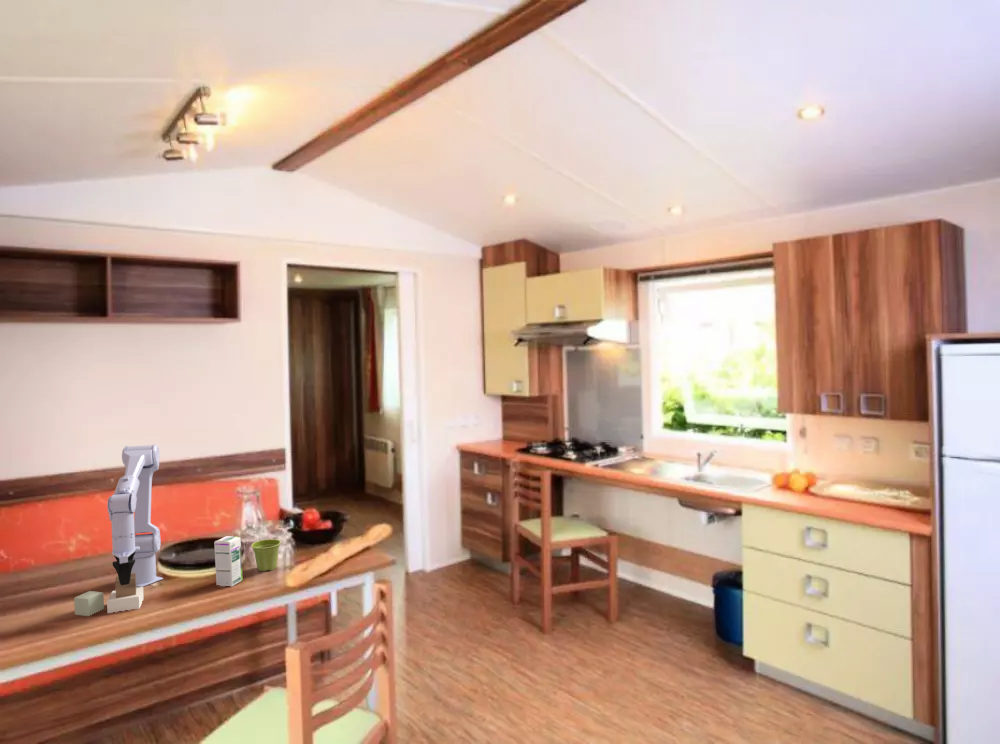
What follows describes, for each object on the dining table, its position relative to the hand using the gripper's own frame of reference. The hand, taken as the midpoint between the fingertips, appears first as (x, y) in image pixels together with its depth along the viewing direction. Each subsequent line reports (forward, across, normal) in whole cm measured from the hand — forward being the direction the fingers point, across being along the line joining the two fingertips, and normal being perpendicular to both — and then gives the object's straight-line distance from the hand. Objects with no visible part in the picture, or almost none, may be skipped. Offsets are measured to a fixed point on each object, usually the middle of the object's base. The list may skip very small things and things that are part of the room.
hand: (125, 580), depth 189 cm
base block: (+8, 0, 0) cm, 8 cm away
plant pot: (+8, +11, -41) cm, 43 cm away
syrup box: (+8, +3, -28) cm, 30 cm away
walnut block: (+4, 0, 0) cm, 4 cm away
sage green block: (+8, +1, +9) cm, 12 cm away
